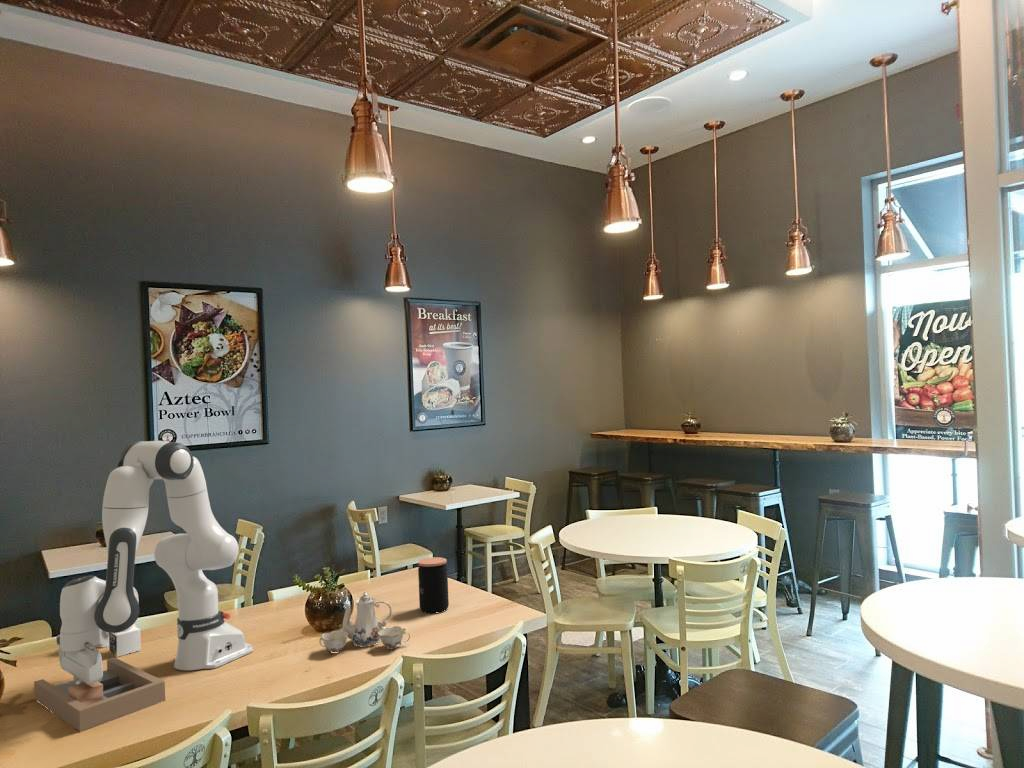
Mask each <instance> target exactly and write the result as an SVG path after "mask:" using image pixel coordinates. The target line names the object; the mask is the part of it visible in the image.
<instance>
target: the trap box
mask: <svg viewBox="0 0 1024 768" xmlns="http://www.w3.org/2000/svg"><path fill="white" fill-rule="evenodd" d="M98 682H100V683H101V684H103V700H101V701H98V702H95V703H93V704H90V705H87V706H85V705H84V704H82V703H80V702H79V701H77V700H76V699H74V698H72V697H71V696H69V695H68V687H71V686H74V685H75V682H74V680H71V681H68V682H64V683H62V684H61V683H60V684H58V685H55V686H54V685H53V684H52V683H50V682H48V681H47V680H45V679H43V678H42V679H39V680H35V681H34V682H33V684H34V686H33V688H34V689H33V690H34V692H33V693H34V695H33V696H34V700H35V699H36V700H37V701H39V702H40V703H41V704H43V705H44V706H46V707H47V708H48V709H49V710H51V711H52V712H53V713H52V712H51V711H50V712H51V713H52V714H53V715H55V714H56V715H57V716H56V715H55V716H56V717H58V718H59V717H60V718H59V719H60V720H62V719H63V720H62V721H63V722H65V723H66V722H67V723H66V724H68V725H69V726H70V727H72V728H73V729H75V730H77V731H78V732H79V733H81V731H82V732H85V731H86V730H90V729H92V728H94V727H97V725H98V726H100V724H101V725H103V724H107V723H108V722H111V721H114V720H116V719H119V718H122V717H124V716H127V715H129V714H133V713H136V712H137V711H138V712H139V711H140V709H141V710H143V708H144V709H146V708H148V706H149V707H151V705H152V706H155V705H157V704H159V703H158V702H160V703H162V702H161V701H163V702H165V701H166V685H165V684H166V683H165V680H163V679H160V678H159V677H156V676H155V675H152V674H150V673H147V672H145V671H143V670H142V669H140V668H138V667H135V666H133V665H131V664H129V663H127V662H125V661H122V660H121V659H118V657H116V656H114V657H110V658H108V659H106V669H105V670H103V677H102V680H100V681H98ZM164 700H165V701H164ZM156 703H157V704H156ZM41 704H40V705H41ZM48 709H47V710H48ZM49 710H48V711H49ZM89 728H90V729H89Z"/></svg>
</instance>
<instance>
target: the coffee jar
mask: <svg viewBox="0 0 1024 768" xmlns="http://www.w3.org/2000/svg"><path fill="white" fill-rule="evenodd" d="M447 560H448V559H446V558H444V557H440V556H439V557H437V556H435V557H426V558H422V559H420V560H418V561H417V563H418V566H419V567H418V569H417V574H418V576H417V577H418V595H419V597H418V598H419V599H418V600H419V603H418V604H419V609H420V611H421V610H422V611H421V613H424V612H426V613H425V614H428V613H435V614H437V613H436V612H441V613H443V612H442V611H444V610H446V609H447V610H448V608H449V606H450V605H449V603H450V602H449V601H450V600H449V580H448V578H449V577H448V565H447V562H448V561H447ZM447 610H446V611H447ZM444 612H445V611H444Z"/></svg>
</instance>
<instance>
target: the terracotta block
mask: <svg viewBox="0 0 1024 768" xmlns="http://www.w3.org/2000/svg"><path fill="white" fill-rule="evenodd" d="M68 695H69V696H71V697H72V698H74V699H76V700H77V701H79V702H80V703H82V704H84V705H85V706H87V705H90V704H93V703H95V702H98V701H101V700H103V684H101V683H100V682H95V683H91V684H86V683H85V682H84V683H80V684H77V685H74V686H71V687H68Z"/></svg>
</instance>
